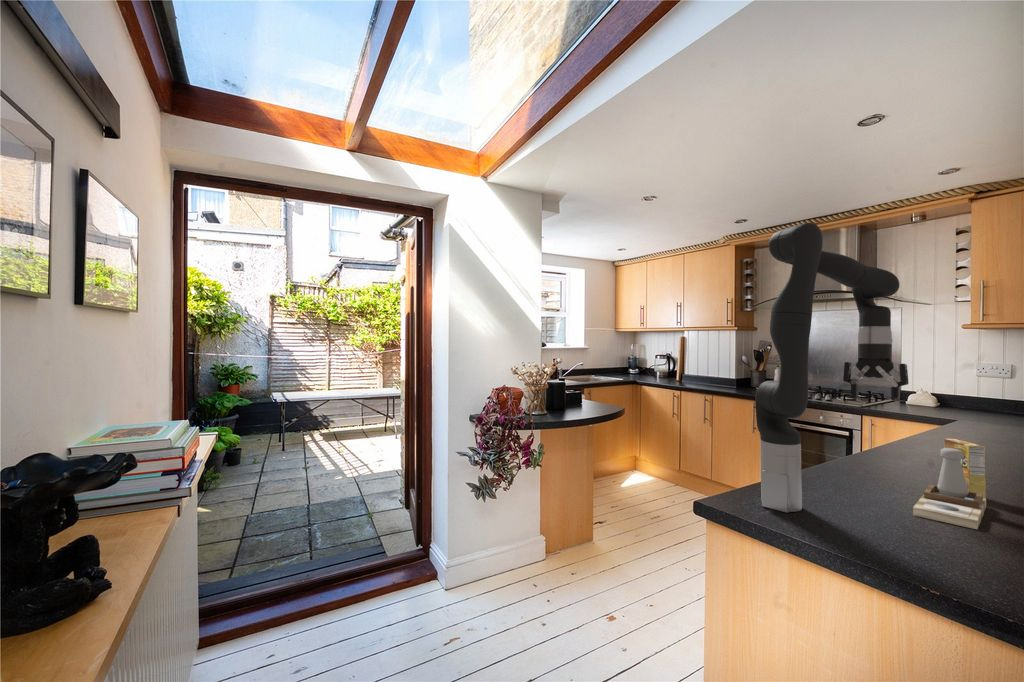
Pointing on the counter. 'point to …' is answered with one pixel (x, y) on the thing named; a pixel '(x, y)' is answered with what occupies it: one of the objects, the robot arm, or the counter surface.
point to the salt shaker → (952, 474)
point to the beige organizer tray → (951, 508)
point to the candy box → (971, 464)
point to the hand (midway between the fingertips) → (874, 398)
